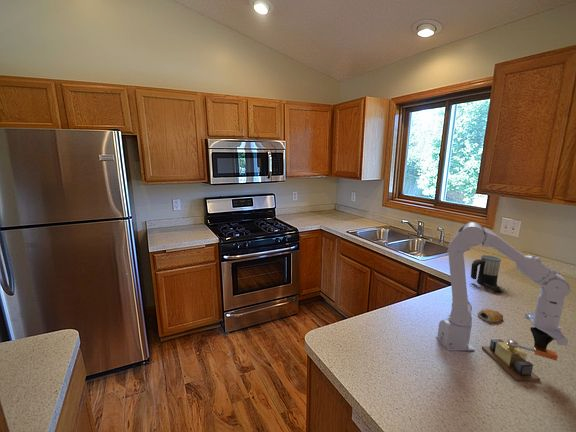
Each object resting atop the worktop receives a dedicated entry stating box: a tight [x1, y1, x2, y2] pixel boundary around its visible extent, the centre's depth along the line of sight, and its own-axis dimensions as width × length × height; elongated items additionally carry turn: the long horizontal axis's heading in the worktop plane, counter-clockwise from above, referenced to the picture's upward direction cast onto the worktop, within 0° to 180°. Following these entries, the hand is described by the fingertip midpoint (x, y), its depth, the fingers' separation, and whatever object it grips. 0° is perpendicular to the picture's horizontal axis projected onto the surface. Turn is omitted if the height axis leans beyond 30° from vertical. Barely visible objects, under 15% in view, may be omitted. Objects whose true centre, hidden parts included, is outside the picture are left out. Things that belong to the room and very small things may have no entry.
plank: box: [481, 345, 541, 382], centre depth 91 cm, size 7×15×1 cm, turn 2°
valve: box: [489, 338, 534, 375], centre depth 90 cm, size 5×13×5 cm, turn 2°
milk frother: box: [470, 254, 503, 293], centre depth 148 cm, size 14×16×15 cm
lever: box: [506, 338, 558, 362], centre depth 87 cm, size 12×3×2 cm, turn 56°
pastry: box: [477, 308, 504, 324], centre depth 118 cm, size 9×7×4 cm
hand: (539, 351), depth 88 cm, fingers closed, pressing on lever
